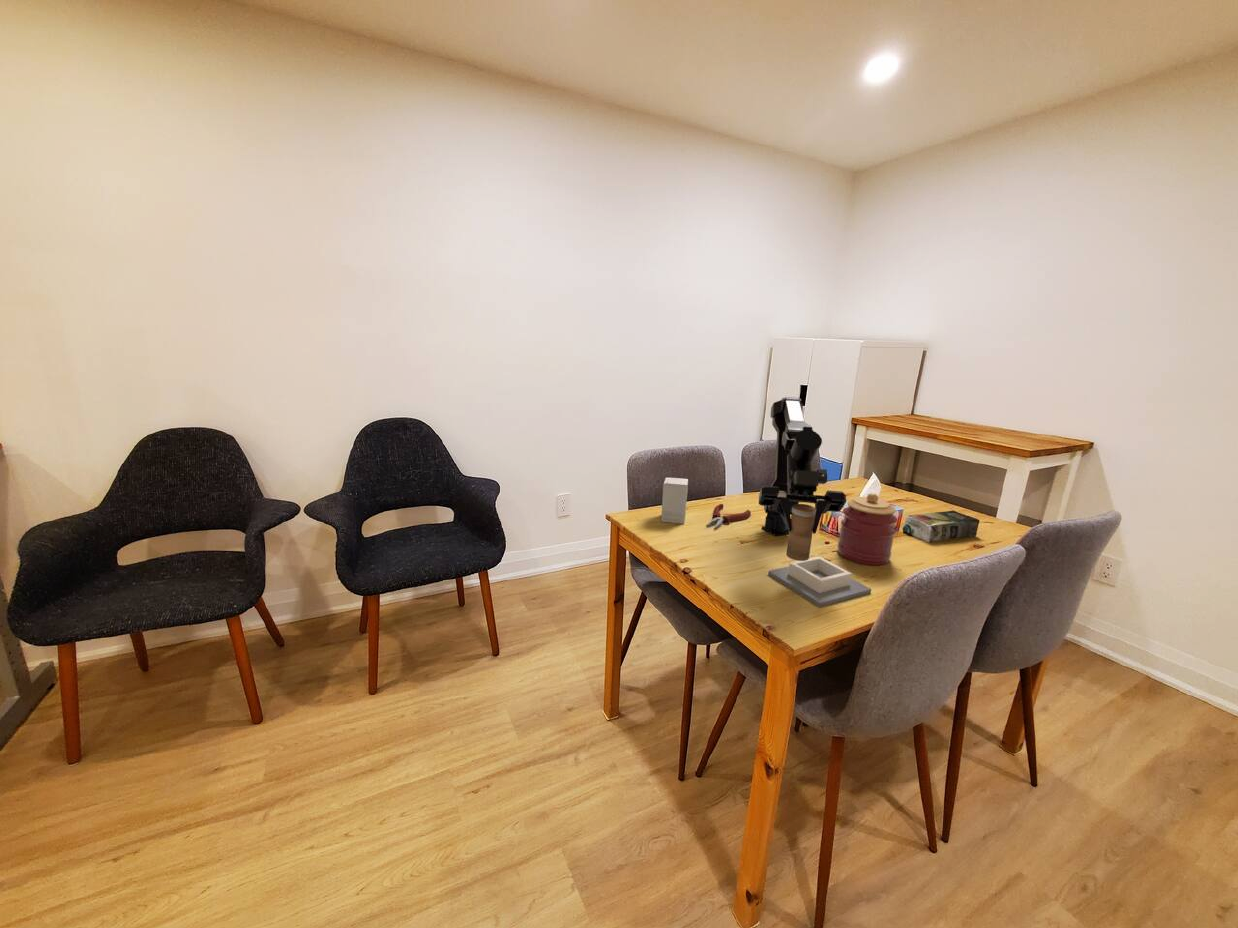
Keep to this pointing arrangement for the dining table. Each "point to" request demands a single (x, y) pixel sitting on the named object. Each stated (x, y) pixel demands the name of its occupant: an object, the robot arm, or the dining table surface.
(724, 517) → the pliers
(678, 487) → the supplement box
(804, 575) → the docking plate
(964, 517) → the juice carton
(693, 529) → the dining table surface
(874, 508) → the canister
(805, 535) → the brown upright cylinder
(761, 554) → the dining table surface
